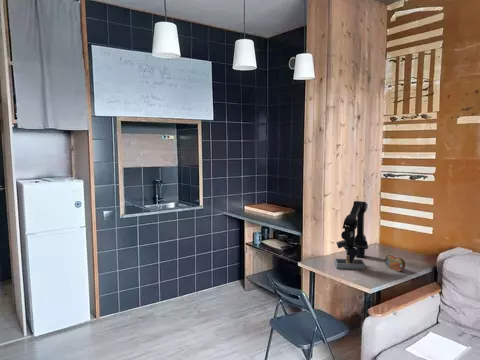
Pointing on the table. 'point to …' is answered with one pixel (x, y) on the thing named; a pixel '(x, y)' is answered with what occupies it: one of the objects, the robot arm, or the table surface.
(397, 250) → the table surface
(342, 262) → the bin
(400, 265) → the tin
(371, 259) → the table surface
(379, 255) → the table surface
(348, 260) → the block
